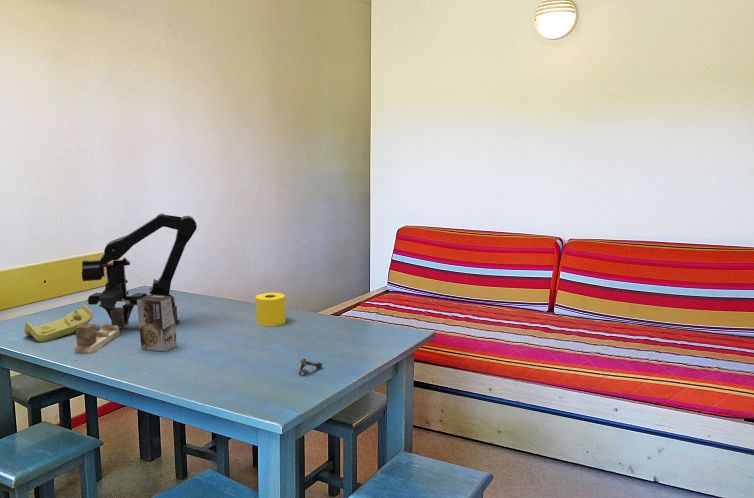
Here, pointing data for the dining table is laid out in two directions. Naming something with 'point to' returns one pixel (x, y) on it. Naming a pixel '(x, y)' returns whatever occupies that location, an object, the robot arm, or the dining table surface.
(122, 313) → the walnut finger
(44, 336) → the plastic component
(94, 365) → the dining table surface
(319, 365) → the brown triangular bracket
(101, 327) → the rail
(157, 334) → the coffee box
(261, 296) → the yellow hollow cylinder
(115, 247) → the robot arm
